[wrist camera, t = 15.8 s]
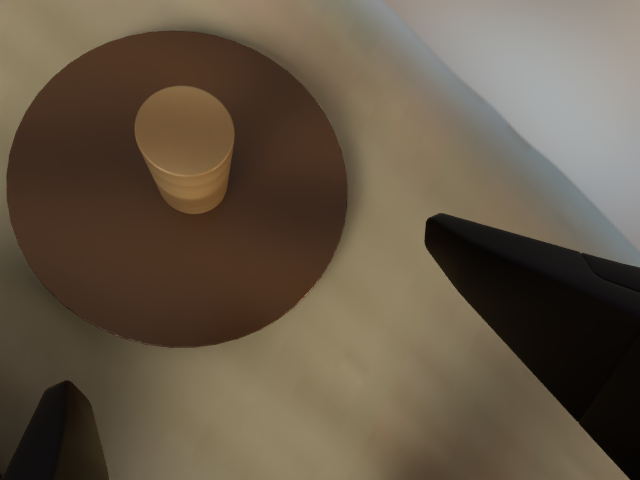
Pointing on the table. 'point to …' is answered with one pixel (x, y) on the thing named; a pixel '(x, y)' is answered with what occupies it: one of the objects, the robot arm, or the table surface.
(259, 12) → the table surface
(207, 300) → the lid
